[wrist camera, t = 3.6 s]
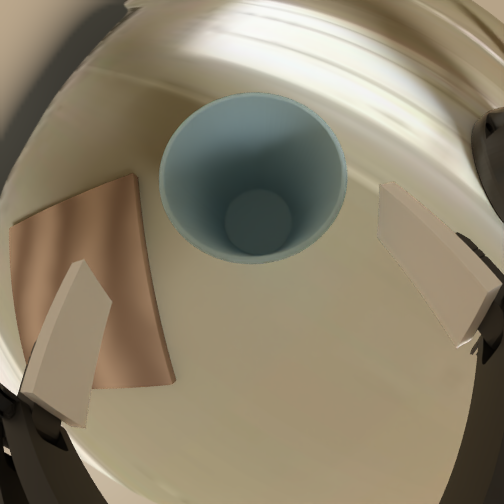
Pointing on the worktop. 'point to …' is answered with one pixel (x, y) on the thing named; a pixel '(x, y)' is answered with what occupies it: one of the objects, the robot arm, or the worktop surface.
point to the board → (106, 272)
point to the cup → (253, 178)
